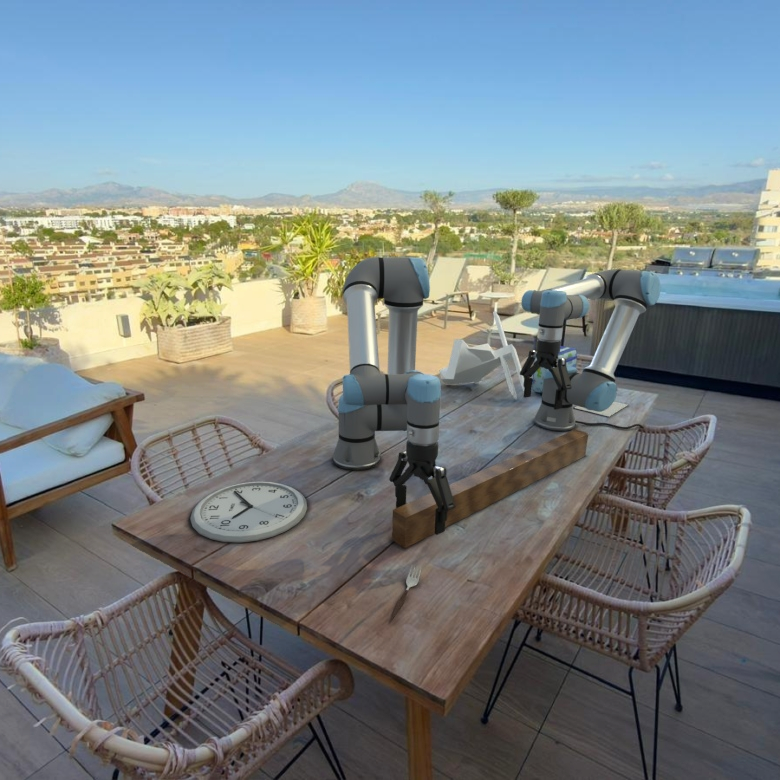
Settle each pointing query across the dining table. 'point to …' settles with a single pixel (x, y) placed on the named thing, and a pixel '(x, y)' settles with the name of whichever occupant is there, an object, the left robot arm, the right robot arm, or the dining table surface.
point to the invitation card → (608, 412)
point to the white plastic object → (480, 361)
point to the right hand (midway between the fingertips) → (541, 402)
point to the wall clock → (248, 512)
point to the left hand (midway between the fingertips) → (419, 520)
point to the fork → (410, 583)
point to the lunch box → (539, 374)
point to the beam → (487, 486)
